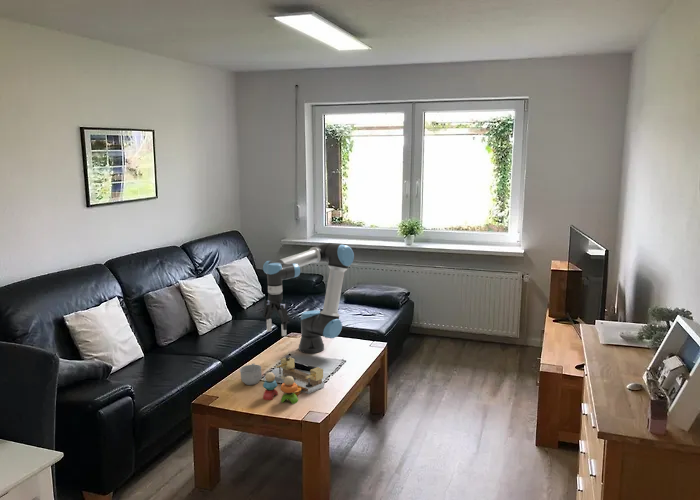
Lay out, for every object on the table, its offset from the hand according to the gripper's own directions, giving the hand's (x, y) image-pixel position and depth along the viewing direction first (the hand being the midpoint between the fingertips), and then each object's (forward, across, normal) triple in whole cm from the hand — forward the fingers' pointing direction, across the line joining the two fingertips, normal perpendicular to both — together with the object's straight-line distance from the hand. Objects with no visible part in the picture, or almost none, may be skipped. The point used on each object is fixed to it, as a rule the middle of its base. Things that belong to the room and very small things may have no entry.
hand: (276, 333), depth 299 cm
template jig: (+22, +18, -3) cm, 29 cm away
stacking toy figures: (+22, +24, -18) cm, 38 cm away
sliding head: (+19, +8, -2) cm, 21 cm away
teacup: (+22, -1, -17) cm, 28 cm away
